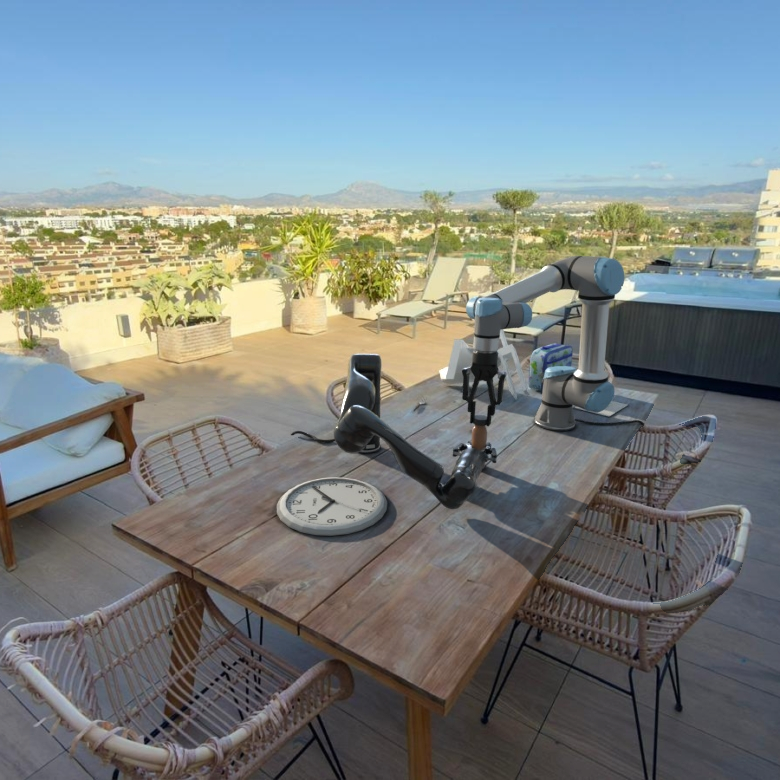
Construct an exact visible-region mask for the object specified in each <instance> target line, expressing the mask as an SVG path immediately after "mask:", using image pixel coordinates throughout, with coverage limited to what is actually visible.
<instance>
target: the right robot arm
mask: <svg viewBox="0 0 780 780" xmlns="http://www.w3.org/2000/svg"><path fill="white" fill-rule="evenodd" d="M624 283H625V270H624V268H623V265H622V264H621V262H620V261H619V260H618V259H615V258H610V257H606V256H586V255H584V256H583V255H573V256H569V257H565V258H563V259H560V260H557V261H555V262H552V263H550V264H548V265H545V266H543V267H542V269H541V271H538V272H537V273H535V274H533V275H530V276H527V277H526V278H523V279H522V280H519V281H517V282H515V283H513V284H510V285H508V286H506V287H504V288H502V289H500V290H497V291H495V292H493V293H491V294H488V295H486V296H483V297H482V296H473V297H471V298H469V299H468V301H467V303H466V305H465V312H466V315H467V317H468V318H469V319H471V320H474V330H473V331H474V332H473V343H472V347H473V349H474V351H473V358H472V365H471V367H469V368H464V369H463V370H462V374H463V383H462V394H461V396H462V397H461V399H462V400H463V401H466V402H467V413H470V415H469V424H470V425H471V424H472V425H473V417H474V416H475V415H476V405H477V401H475V396H476V394H477V391H478V387H479V384H480V382H482V381H483V382H485V383H486V386H487V391H488V398H489V404H488V406H487V413H486V416H487V424H486V427H490V425H491V424H492V417H494V416H495V414H496V406H501V404H502V403H503V397H504V386H505V380H506V375H507V373H506V372H504V371H501V370H499V367H498V366H497V363H498V352H497V350H499V349H500V339H501V338H500V330H501V329H503V330H509V329H521V328H524V327H527V326H529V325H530V324H531V322H532V321H533V309H532V307H531V306H530V305H529V304H528V302H530V301H531V302H532V301H533V300H535V299H537V298H540V297H542V296H544V295H545V294H548V293H557V292H559V291H563V290H571V291H577V292H578V293H577V299H578V300H579V301H580V302H581V304H582V306H581V318H580V321H581V322H580V337H579V354H578V368H577V367H575V366H571V367H570V366H555V367H549V368H547V369H546V370H545V375H544V378H543V379H544V380H543V391H541V402H540V405H539V407H538V410H537V411H536V413H535V417H534V424H535V425H536V426H537V427H539V428H542V429H544V430H549V431H556V432H567V431H572V430H574V429H575V428H576V422H578V423H582V424H587V425H594V426H595V425H597V426H615V425H624V424H625V425H627V424H635V423H639V424H640V425H643V426H645V423H644V422H643V421H641V420H639V419H633V420H628V421H625V420H624V421H615V422H594V421H587V420H584V419H583V420H582V419H578V418H575V417H576V416H575V413H574V407H576V406H577V407H580V408H582V409H585V410H587V411H586V412H588V411H592V412H601V411H603V410H604V409H605V408H607V407H608V405H609V404H610V403H611V401H613V398H614V396H615V391H616V389H615V386H614V384H613V383H611V381H609V373H608V372H607V371H606V370H605V365H606V364H605V363H606V352H607V338H608V325H609V314H610V313H609V312H610V304H611V302H613V300H615V298H616V295H618V294H619V293H620V292H621V291H622V289H623V288H622V287H624ZM470 371H472V373H473V375H474V376H475V378H474V382H472V386H471V389H470V382H469V374H470ZM495 376H497V379H498V382H497V383H498V384H497V393H496V391H495V386H494V378H495ZM479 381H480V382H479ZM469 389H470V392H469ZM573 406H574V407H573ZM592 412H591V413H592Z"/></svg>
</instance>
